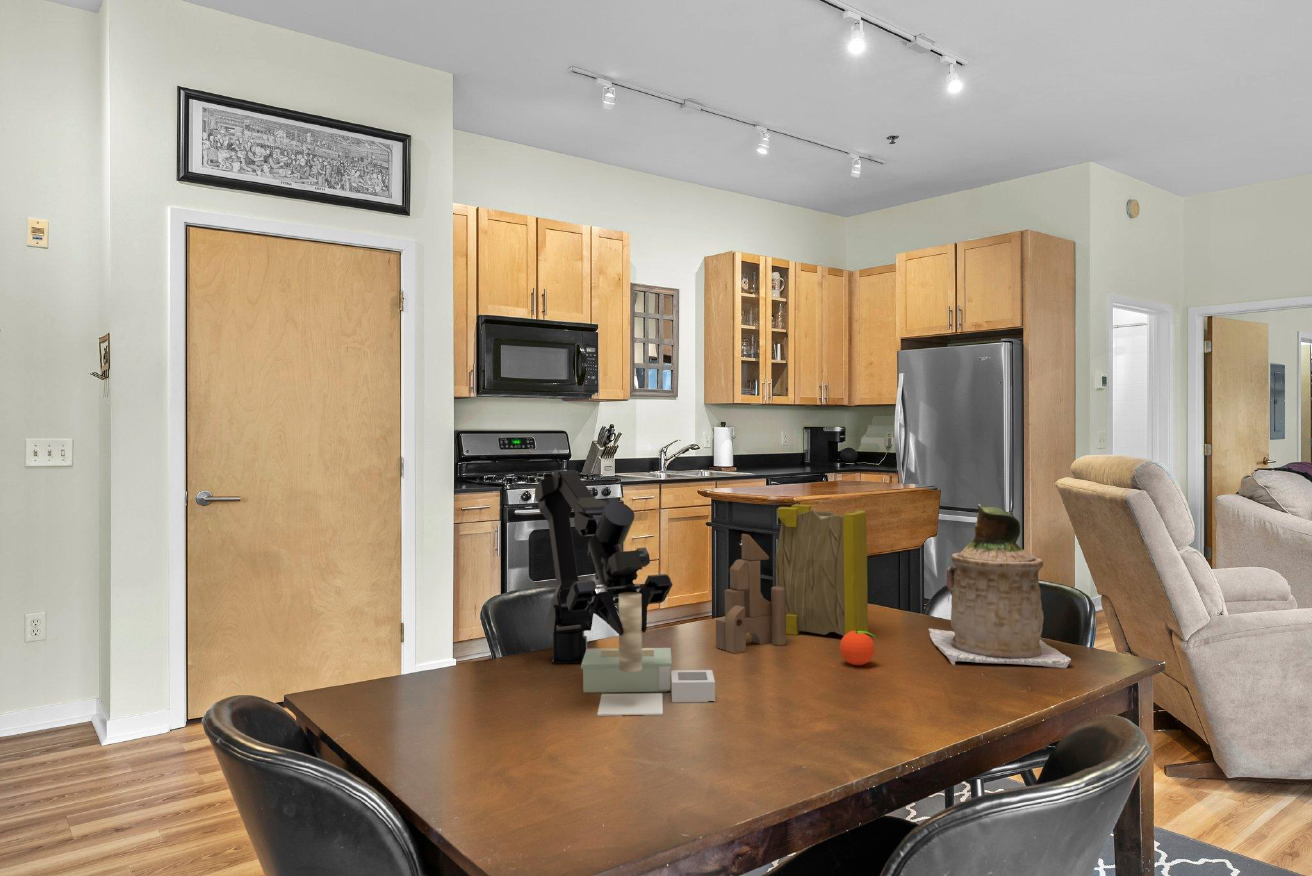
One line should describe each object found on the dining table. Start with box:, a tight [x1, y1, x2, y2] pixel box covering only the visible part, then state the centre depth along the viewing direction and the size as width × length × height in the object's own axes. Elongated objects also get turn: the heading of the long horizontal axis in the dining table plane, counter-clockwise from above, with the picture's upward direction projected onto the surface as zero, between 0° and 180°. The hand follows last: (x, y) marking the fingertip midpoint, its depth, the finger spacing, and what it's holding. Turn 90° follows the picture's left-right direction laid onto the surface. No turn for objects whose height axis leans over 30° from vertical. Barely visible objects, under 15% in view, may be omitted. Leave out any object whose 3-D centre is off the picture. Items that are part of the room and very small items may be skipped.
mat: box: [596, 692, 664, 717], centre depth 143 cm, size 11×11×1 cm
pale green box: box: [580, 647, 716, 703], centre depth 153 cm, size 24×18×6 cm
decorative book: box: [775, 504, 869, 637], centre depth 195 cm, size 20×11×30 cm, turn 58°
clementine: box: [839, 630, 875, 667], centre depth 167 cm, size 8×7×7 cm
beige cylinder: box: [618, 592, 643, 672], centre depth 143 cm, size 4×4×13 cm
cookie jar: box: [928, 503, 1072, 669], centre depth 176 cm, size 25×25×32 cm
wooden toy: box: [715, 533, 787, 654], centre depth 183 cm, size 15×7×25 cm, turn 121°
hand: (633, 632), depth 142 cm, fingers closed on beige cylinder, 4 cm apart
